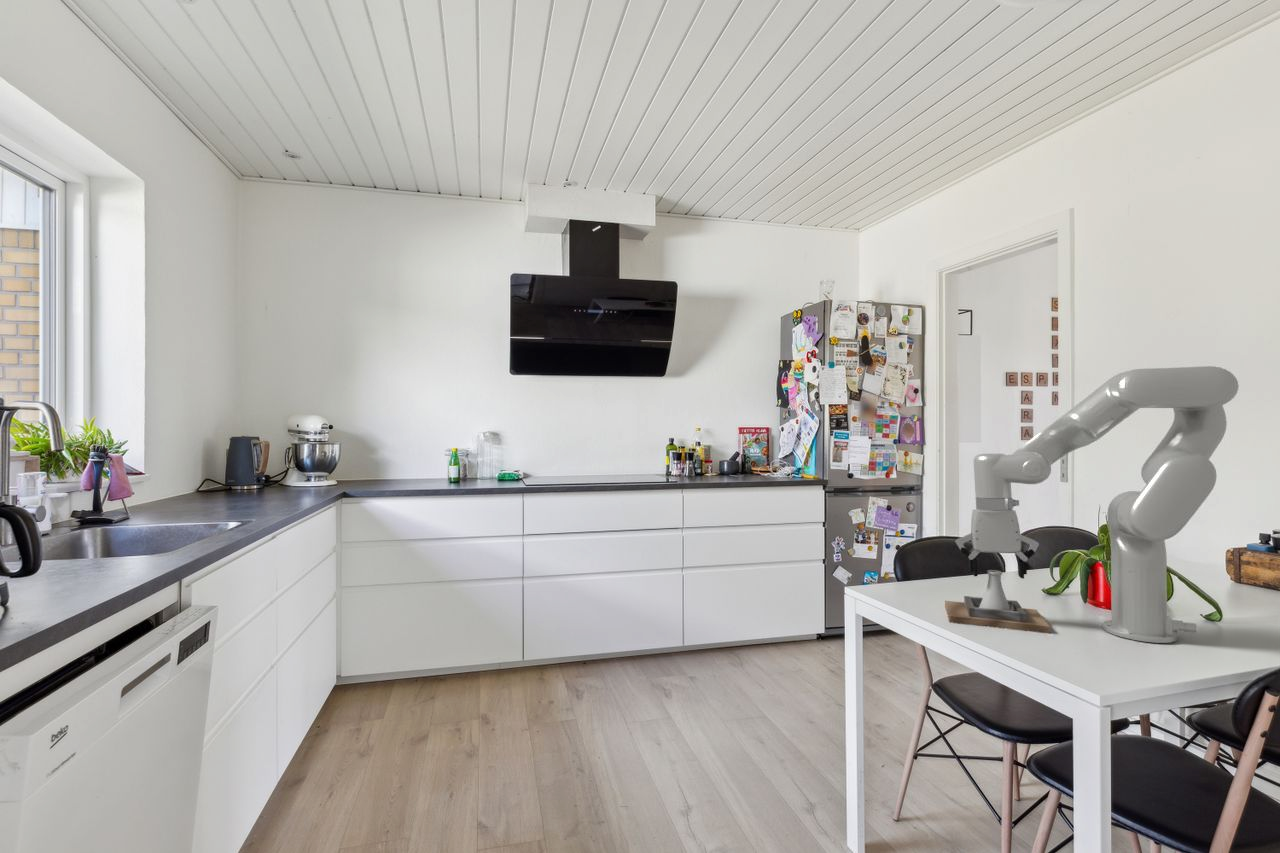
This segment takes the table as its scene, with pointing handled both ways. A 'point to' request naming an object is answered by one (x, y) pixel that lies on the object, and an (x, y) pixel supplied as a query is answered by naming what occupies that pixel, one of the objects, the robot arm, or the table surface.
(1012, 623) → the walnut board
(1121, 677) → the table surface
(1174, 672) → the table surface
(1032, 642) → the table surface
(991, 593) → the flask
